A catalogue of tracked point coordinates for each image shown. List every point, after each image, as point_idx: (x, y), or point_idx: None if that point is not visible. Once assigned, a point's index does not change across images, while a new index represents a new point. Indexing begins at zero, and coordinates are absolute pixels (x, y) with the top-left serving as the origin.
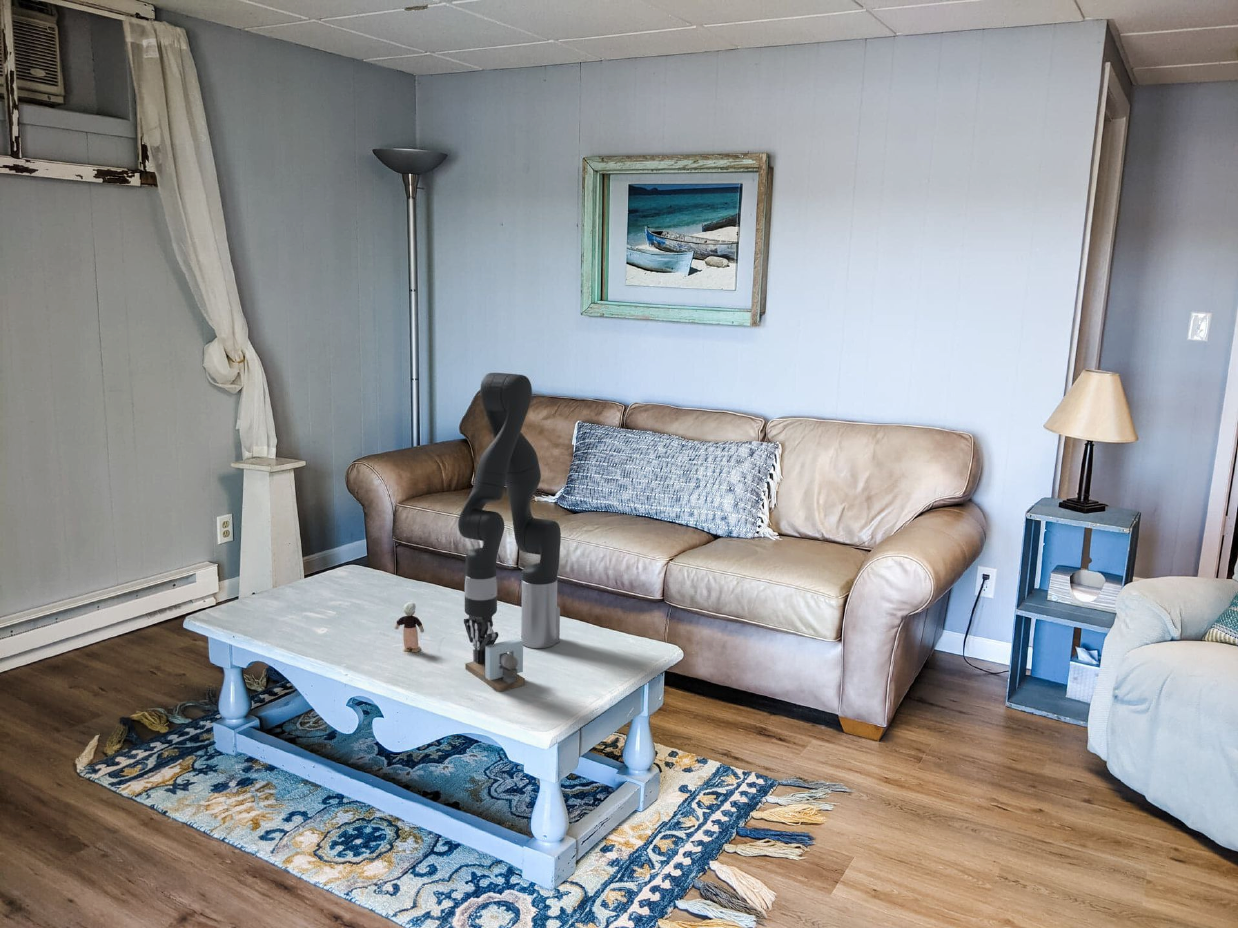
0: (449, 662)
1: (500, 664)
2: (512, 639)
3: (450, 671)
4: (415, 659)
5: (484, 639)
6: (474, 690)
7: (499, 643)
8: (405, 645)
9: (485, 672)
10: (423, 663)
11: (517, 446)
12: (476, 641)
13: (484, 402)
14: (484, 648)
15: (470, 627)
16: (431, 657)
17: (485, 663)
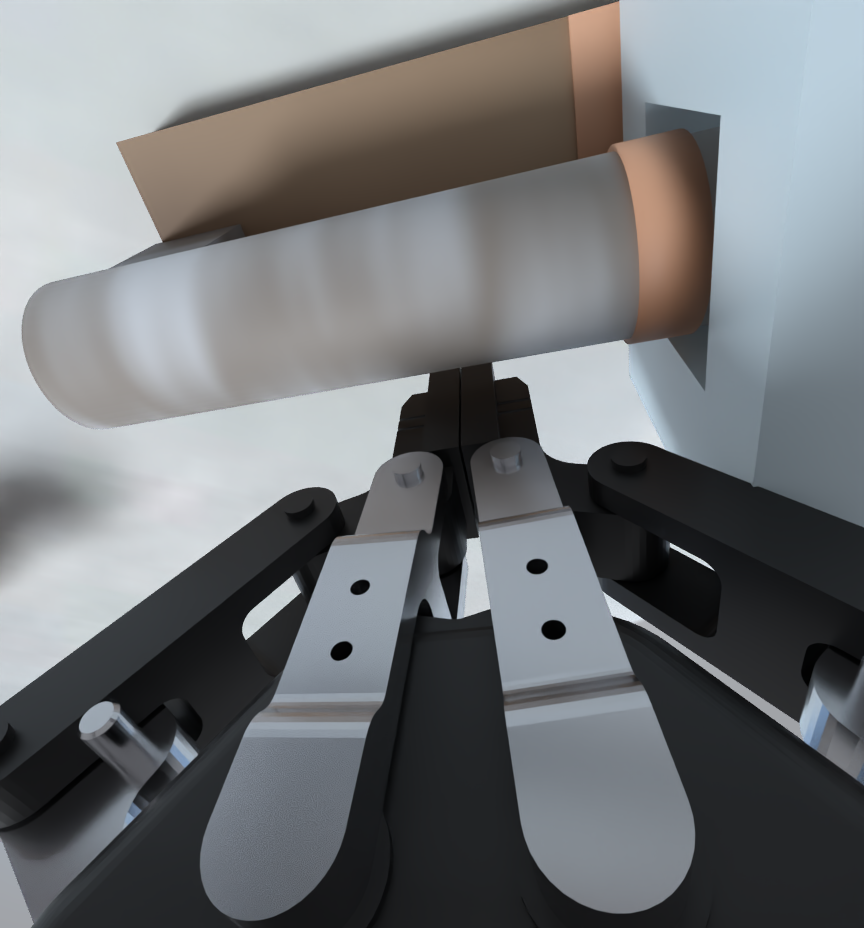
0: (114, 434)
1: (333, 100)
2: (820, 8)
3: (272, 469)
4: (60, 571)
5: (775, 698)
6: (641, 432)
7: (812, 399)
8: None
9: (641, 397)
10: (122, 554)
11: None
12: (464, 603)
13: None
14: (671, 552)
15: (217, 727)
16: (25, 500)
17: (665, 445)
